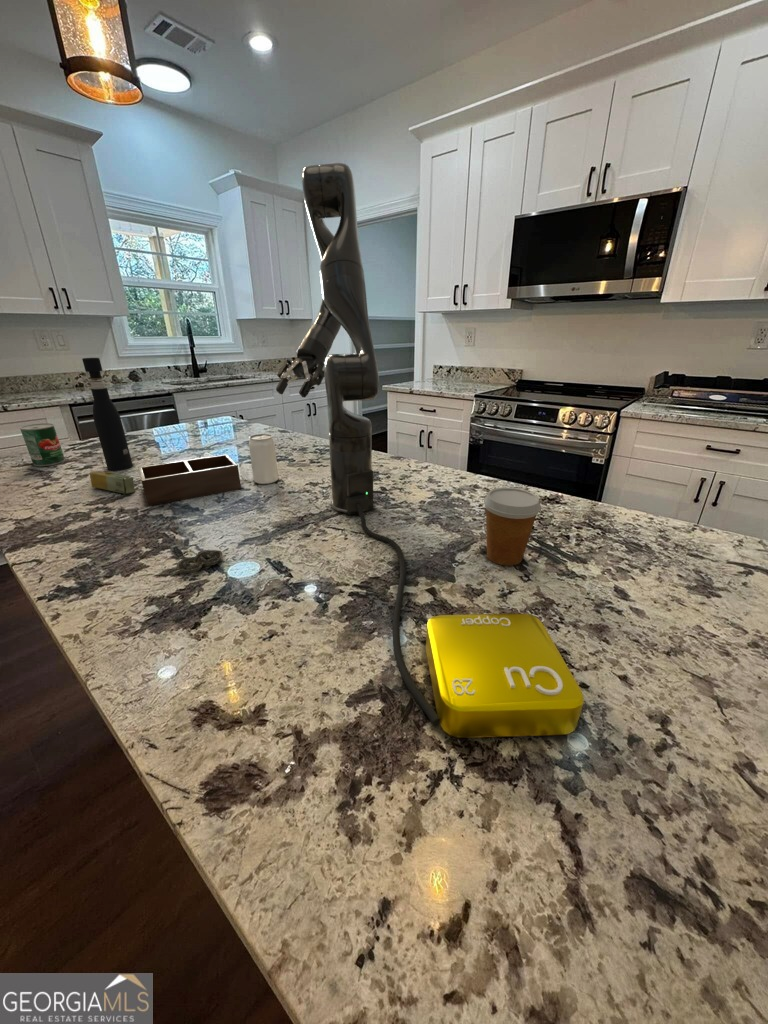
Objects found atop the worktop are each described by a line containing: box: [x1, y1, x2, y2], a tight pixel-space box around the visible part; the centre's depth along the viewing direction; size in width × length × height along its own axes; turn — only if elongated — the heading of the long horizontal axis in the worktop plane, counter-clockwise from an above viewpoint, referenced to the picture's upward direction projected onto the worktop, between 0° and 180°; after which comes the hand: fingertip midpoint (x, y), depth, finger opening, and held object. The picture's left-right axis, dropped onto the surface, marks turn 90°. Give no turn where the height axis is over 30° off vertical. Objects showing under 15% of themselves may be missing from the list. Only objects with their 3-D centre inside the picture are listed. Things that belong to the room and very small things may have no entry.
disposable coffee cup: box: [483, 487, 542, 567], centre depth 74 cm, size 10×10×12 cm
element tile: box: [425, 613, 585, 739], centre depth 49 cm, size 15×15×5 cm
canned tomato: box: [19, 422, 66, 467], centre depth 123 cm, size 8×8×11 cm
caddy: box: [137, 453, 242, 507], centre depth 105 cm, size 11×21×6 cm, turn 122°
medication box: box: [89, 470, 136, 495], centre depth 105 cm, size 12×3×4 cm, turn 70°
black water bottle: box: [81, 357, 134, 471], centre depth 116 cm, size 6×6×30 cm
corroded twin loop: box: [176, 549, 223, 573], centre depth 73 cm, size 5×8×1 cm, turn 139°
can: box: [248, 433, 279, 485], centre depth 110 cm, size 6×6×12 cm
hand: (290, 394), depth 112 cm, fingers open, 8 cm apart
